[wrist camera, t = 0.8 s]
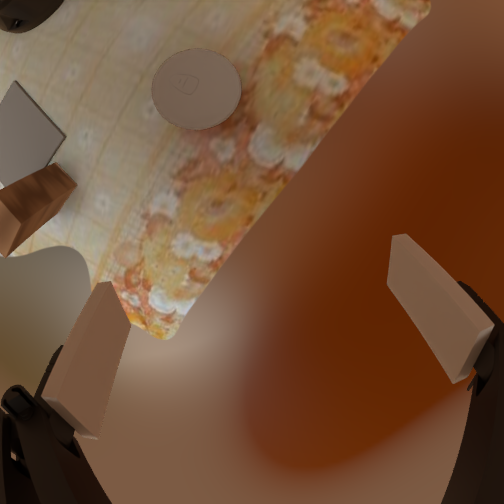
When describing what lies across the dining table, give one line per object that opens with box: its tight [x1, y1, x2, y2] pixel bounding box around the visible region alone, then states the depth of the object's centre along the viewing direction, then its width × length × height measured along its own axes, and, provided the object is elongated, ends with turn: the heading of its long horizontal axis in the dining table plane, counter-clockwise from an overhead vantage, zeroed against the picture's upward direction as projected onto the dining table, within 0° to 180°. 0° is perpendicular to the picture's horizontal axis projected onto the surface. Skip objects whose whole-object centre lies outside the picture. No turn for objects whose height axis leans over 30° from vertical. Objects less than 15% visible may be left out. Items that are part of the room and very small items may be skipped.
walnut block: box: [0, 162, 77, 258], centre depth 29 cm, size 5×6×14 cm
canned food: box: [152, 49, 242, 130], centre depth 27 cm, size 8×8×11 cm
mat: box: [0, 81, 66, 187], centre depth 30 cm, size 14×14×1 cm
